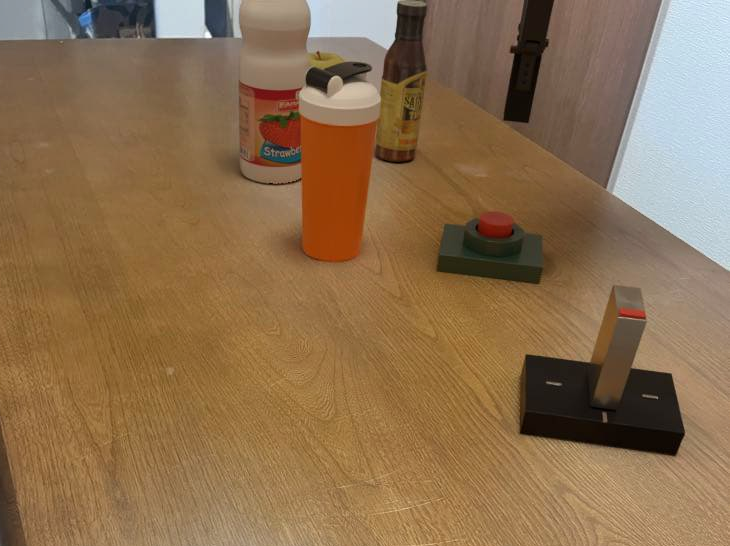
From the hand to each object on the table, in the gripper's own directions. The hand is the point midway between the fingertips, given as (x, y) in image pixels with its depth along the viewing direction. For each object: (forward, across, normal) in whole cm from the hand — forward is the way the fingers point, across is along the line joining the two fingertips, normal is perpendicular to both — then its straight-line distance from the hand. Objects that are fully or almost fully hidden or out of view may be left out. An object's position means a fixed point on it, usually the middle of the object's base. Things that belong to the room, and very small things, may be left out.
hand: (516, 117), depth 94 cm
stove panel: (+16, +30, +11) cm, 36 cm away
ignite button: (+13, 0, 0) cm, 13 cm away
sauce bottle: (+17, -32, -15) cm, 39 cm away
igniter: (+16, 0, 0) cm, 16 cm away
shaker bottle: (+17, +2, -19) cm, 25 cm away
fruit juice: (+17, -20, -31) cm, 40 cm away
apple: (+17, -52, -30) cm, 62 cm away
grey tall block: (+14, +30, +11) cm, 35 cm away
